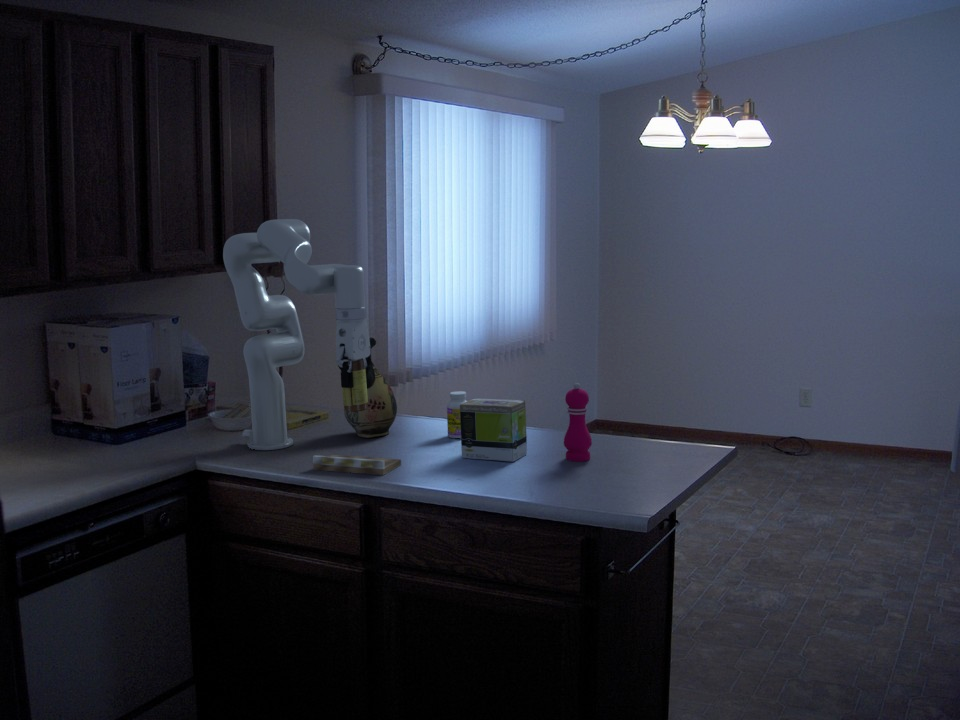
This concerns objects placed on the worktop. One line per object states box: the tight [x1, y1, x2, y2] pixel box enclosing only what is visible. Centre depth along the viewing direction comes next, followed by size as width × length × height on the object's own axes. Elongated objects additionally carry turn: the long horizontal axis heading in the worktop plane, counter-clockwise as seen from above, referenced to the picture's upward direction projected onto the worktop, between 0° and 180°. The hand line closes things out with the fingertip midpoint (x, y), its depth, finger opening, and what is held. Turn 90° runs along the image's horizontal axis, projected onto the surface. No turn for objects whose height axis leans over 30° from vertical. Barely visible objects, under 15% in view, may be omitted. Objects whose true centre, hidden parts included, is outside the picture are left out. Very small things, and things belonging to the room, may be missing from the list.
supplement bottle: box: [446, 390, 469, 439], centre depth 288 cm, size 7×7×13 cm
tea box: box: [460, 397, 528, 463], centre depth 264 cm, size 15×10×15 cm, turn 65°
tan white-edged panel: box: [312, 454, 402, 476], centre depth 257 cm, size 20×10×4 cm, turn 68°
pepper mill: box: [563, 382, 593, 463], centre depth 258 cm, size 7×7×20 cm
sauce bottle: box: [341, 358, 368, 412], centre depth 254 cm, size 7×6×20 cm
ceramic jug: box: [343, 337, 398, 439], centre depth 291 cm, size 17×15×30 cm
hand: (354, 384), depth 255 cm, fingers closed on sauce bottle, 6 cm apart
